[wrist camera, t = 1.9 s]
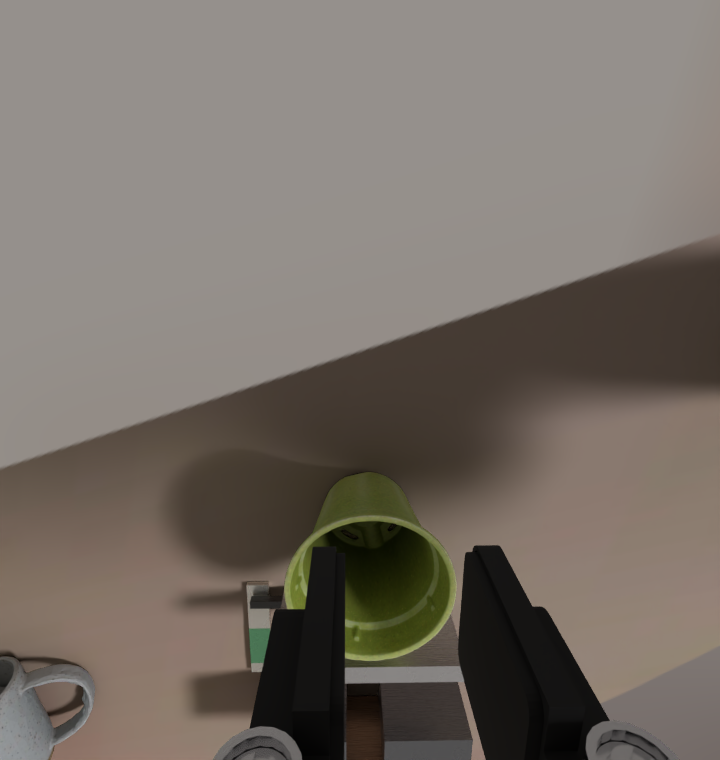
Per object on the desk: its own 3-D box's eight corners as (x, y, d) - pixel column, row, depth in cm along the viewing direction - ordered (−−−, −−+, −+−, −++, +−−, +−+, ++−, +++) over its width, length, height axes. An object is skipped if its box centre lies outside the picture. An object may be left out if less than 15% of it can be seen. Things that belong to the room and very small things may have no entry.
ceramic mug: (-2, 744, 38) (-85, 862, 31) (-52, 668, 36) (-154, 774, 29) (119, 711, 38) (64, 821, 30) (75, 632, 36) (6, 730, 28)
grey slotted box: (247, 581, 35) (227, 646, 29) (459, 580, 35) (481, 643, 29) (255, 707, 38) (238, 788, 32) (450, 704, 38) (468, 783, 32)
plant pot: (390, 584, 35) (403, 685, 27) (278, 533, 34) (255, 623, 25) (453, 485, 33) (489, 561, 25) (337, 427, 32) (334, 487, 23)
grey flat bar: (252, 588, 35) (228, 669, 28) (443, 587, 35) (466, 665, 28) (254, 633, 36) (232, 720, 29) (440, 631, 36) (461, 717, 29)
